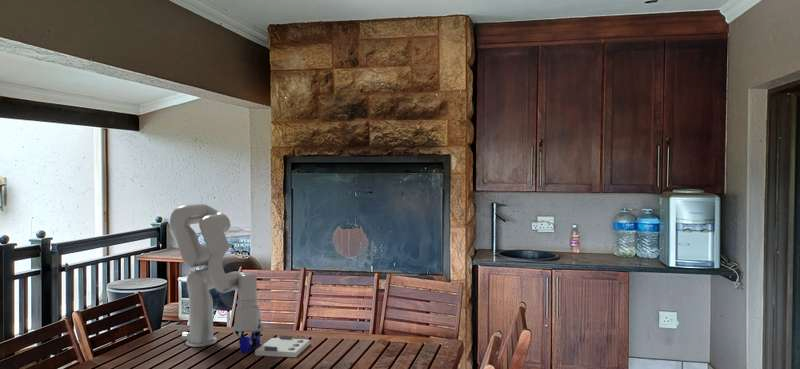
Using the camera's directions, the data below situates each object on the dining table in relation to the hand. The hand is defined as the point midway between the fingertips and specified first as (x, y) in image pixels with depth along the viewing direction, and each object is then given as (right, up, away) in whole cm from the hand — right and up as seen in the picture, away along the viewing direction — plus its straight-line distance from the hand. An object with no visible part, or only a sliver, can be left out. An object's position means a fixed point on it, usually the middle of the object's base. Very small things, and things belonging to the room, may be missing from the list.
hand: (248, 346), depth 225 cm
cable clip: (0, -1, 0) cm, 1 cm away
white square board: (+15, -1, -2) cm, 15 cm away
